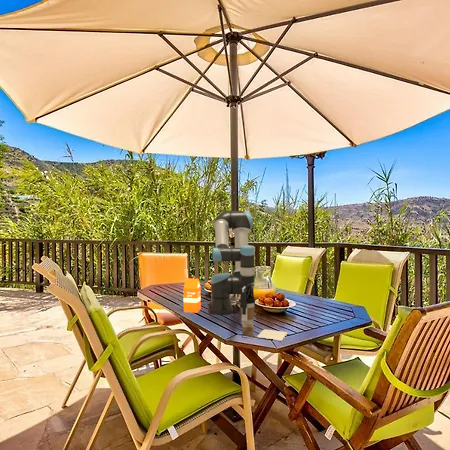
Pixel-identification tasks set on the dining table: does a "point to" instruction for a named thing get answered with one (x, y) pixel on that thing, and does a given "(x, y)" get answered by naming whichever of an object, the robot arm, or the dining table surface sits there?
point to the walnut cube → (248, 330)
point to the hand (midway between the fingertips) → (247, 318)
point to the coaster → (272, 335)
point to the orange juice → (192, 295)
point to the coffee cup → (249, 311)
